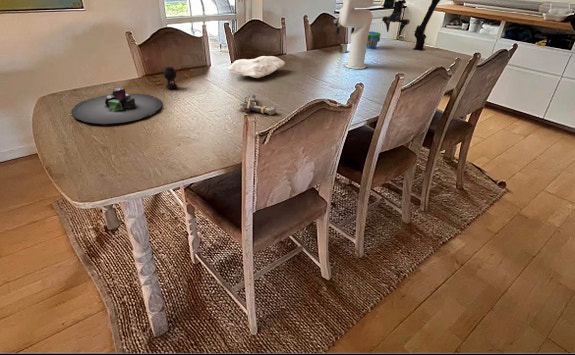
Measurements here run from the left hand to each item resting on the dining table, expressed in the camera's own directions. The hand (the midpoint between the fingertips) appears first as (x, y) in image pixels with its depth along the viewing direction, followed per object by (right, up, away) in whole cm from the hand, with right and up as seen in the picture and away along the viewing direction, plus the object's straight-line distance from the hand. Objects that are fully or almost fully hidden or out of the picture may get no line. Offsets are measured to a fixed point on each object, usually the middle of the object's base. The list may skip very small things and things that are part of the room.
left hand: (344, 33), depth 243 cm
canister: (0, -10, +6) cm, 12 cm away
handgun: (-51, -66, -84) cm, 119 cm away
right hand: (+39, +10, +23) cm, 47 cm away
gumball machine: (-95, -53, -68) cm, 128 cm away
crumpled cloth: (-56, -40, -44) cm, 82 cm away
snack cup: (+21, -3, +18) cm, 28 cm away
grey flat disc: (-109, -67, -91) cm, 157 cm away
